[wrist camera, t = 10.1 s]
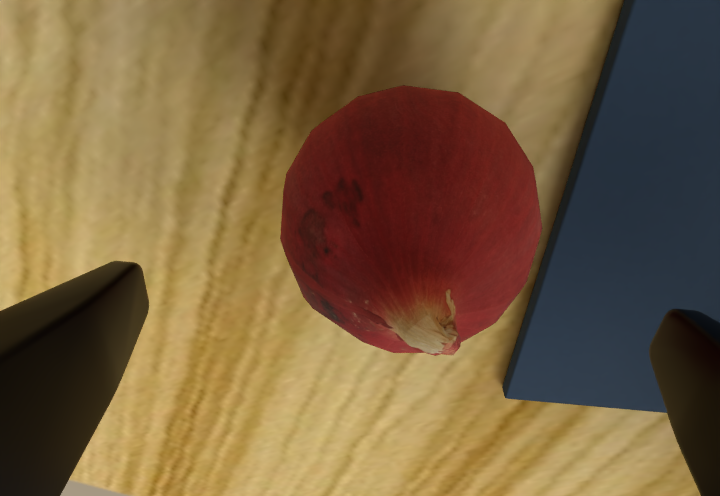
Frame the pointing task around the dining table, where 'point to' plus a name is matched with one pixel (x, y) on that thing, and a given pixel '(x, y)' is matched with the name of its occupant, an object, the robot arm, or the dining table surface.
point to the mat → (631, 216)
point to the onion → (411, 219)
